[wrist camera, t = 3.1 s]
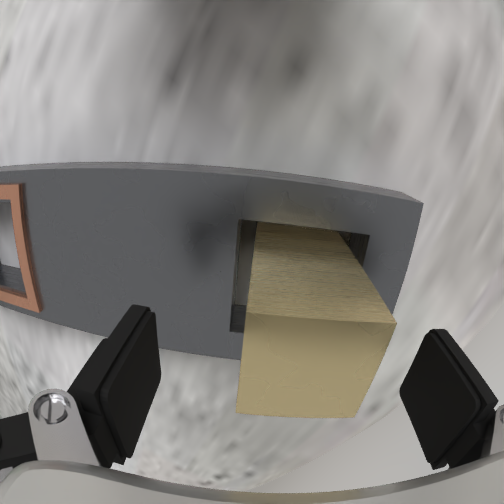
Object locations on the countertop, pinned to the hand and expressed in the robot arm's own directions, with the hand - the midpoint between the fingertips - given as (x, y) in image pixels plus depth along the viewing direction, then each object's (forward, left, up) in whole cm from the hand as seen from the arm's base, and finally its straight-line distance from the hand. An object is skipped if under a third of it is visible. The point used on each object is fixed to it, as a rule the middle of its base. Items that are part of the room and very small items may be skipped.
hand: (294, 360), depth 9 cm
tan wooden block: (0, -1, -7) cm, 7 cm away
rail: (+9, -1, -7) cm, 11 cm away
